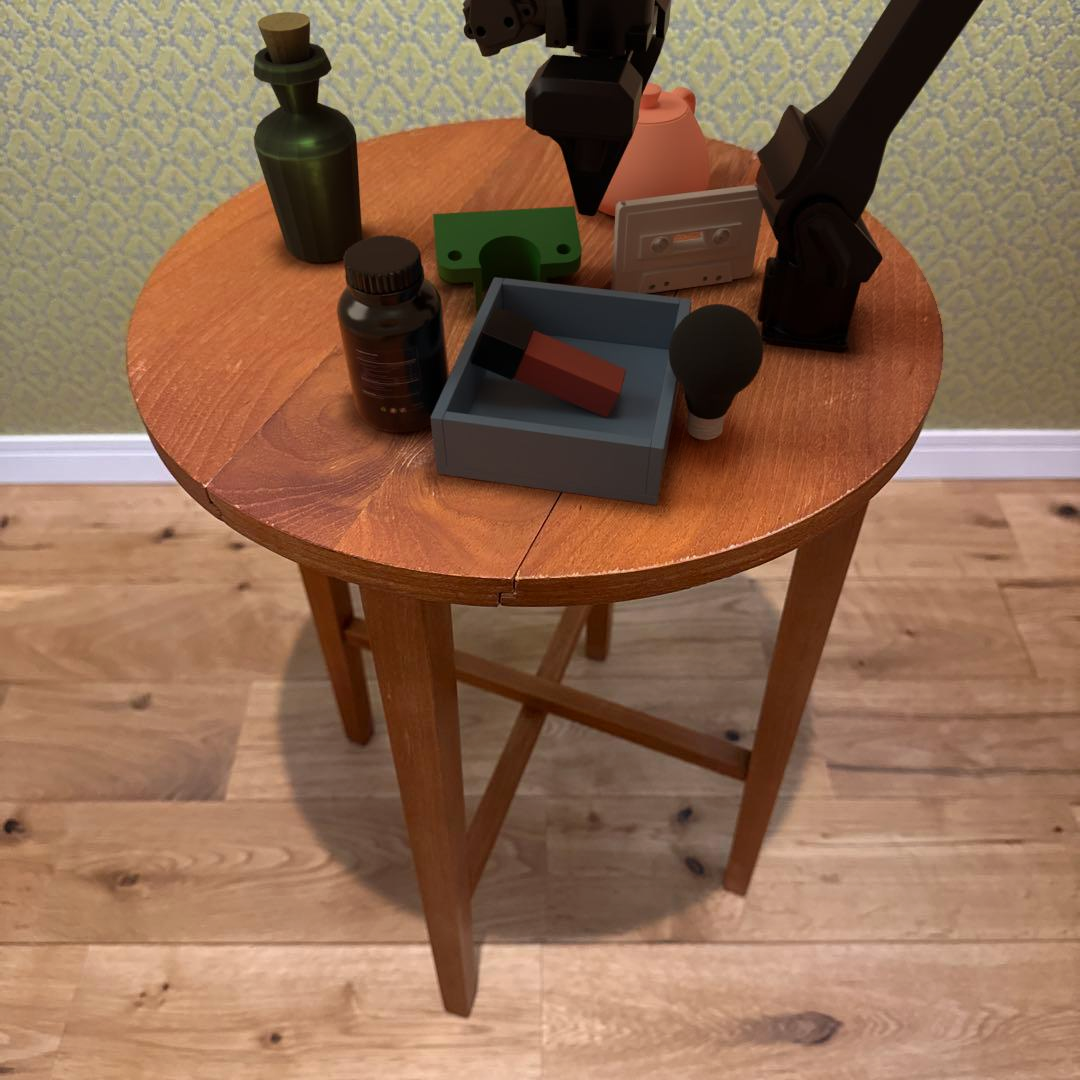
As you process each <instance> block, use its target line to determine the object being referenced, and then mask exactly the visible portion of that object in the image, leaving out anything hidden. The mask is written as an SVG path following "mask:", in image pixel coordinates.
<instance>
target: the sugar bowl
mask: <svg viewBox="0 0 1080 1080" xmlns="http://www.w3.org/2000/svg"><path fill="white" fill-rule="evenodd" d="M696 104H697V99H696V94H695V93H694V91H692V90H691V89H689V88H687V87H676V88H674V89H672V90H671V91H670V92H669V91H666V90H663V88H662V87H661V85H659V84H657V83H653V82H648V83H647V85H646V87H645V90H644V92H643V94H642V97H641V102H640V109H639V118H638V121H637V124H636V127H635V130H634V133H633V136H632V138H631V140H630V142H629V144H628V146H627V148H626V150H625V152H624V154H623V157H622V159H621V161H620V163H619V165H618V167H617V169H616V171H615V174H614V176H613V178H612V180H611V182H610V184H609V186H608V189H607V191H606V193H605V195H604V197H603V199H602V202H601V204H600V206H599V208H598V210H597V211H600V212H602V213H604V214H607V215H608V216H612V217H615V212H616V205H617V203H618V202H620V201H627V200H635V199H643V198H651V197H659V196H667V195H675V194H683V193H691V192H699V191H706V190H707V188H708V185H709V183H710V176H711V163H710V162H711V161H710V154H709V149H708V144H707V141H706V137H705V135H704V133H703V130H702V128H701V126H700V123H699V122H698V120H697V118H696V116H695V113H696V107H697V105H696Z"/></svg>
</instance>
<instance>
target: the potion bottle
mask: <svg viewBox="0 0 1080 1080" xmlns="http://www.w3.org/2000/svg"><path fill="white" fill-rule="evenodd" d="M257 26H258V29H259V31H260V34H261V37H262V39H263V42H264V43H265V47H264V48H261V49H260V50H258V51H257V53H256V54H255V55H254V63H253V76H254V77H255V78H256V79H257V80H259V81H260V82H263V83H268V84H270V87H271V89H272V90H273V93H274V95H275V97H276V100H277V101H278V104H279V107H277V108H276V109H274V110H273V111H272V112H270V113H269V114H267V115H265V116H264V117H263V118H262V119H261V120H260V121H259V123H258V124H257V125H256V129H255V132H254V135H253V145H254V146H253V147H254V149H255V152H256V153H255V154H256V155H257V159H258V162H259V165H260V168H261V172H262V175H263V179H264V181H265V185H266V187H267V191H268V194H269V197H270V200H271V204H272V206H273V210H274V212H275V216H276V219H277V222H278V225H279V228H280V231H281V235H282V238H283V240H284V244H285V247H286V250H287V251H288V252H289V253H290V254H291V255H292V256H293V257H294V258H297V259H298V260H301V261H304V262H307V263H317V264H322V263H330V262H337V261H339V260H342V259H344V255H345V251H347V250H348V248H349V247H351V246H352V244H355V243H356V242H357V241H360V240H363V226H362V211H361V209H362V208H361V192H360V176H359V158H358V141H357V140H358V139H357V132H356V128H355V126H354V125H353V123H352V122H351V120H350V119H349V118H348V116H347V115H345V114H344V113H343V112H341V111H340V110H339V109H336V108H333V107H330V106H328V105H326V104H323V103H321V102H319V91H320V79H322V78H323V77H325V76H327V75H328V74H329V73H330V72H331V71H332V68H333V67H332V63H331V61H330V59H329V57H328V55H327V53H326V51H325V49H324V48H323V47H322V46H320V45H319V44H316V43H312V42H311V18H310V16H308V15H306V14H305V13H301V12H295V11H293V12H292V11H285V12H276V13H271V14H267V15H265V16H263V17H260V19H259V20H258V21H257Z"/></svg>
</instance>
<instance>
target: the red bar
mask: <svg viewBox="0 0 1080 1080" xmlns="http://www.w3.org/2000/svg"><path fill="white" fill-rule="evenodd" d="M534 325H535V323H534V322H531V321H529V320H527V319H524V318H522V317H519V316H517V315H515V314H512V313H510V312H508V311H505V310H503V309H501V308H498V307H496V306H494V307H493V309H492V312H491V314H490V316H489V318H488V321H487V323H486V325H485V327H484V330H483V332H482V335H481V337H480V340H479V343H478V345H477V348H476V351H475V353H474V356H473V359H472V362H471V363H472V364H474V365H477V366H479V367H481V368H484V369H486V370H489V371H491V372H493V373H496V374H498V375H500V376H503V377H505V378H508V379H510V380H513V377H514V379H515V380H518V381H520V382H522V383H525V384H527V385H530V386H532V387H534V388H537V389H539V390H541V391H544V392H546V393H549V394H551V395H553V396H556V397H558V398H561V399H563V400H565V401H568V402H570V403H572V404H575V405H577V406H580V407H582V408H584V409H587V410H589V411H591V412H594V413H596V414H599V415H601V416H603V417H606V418H607V417H608V416H609V414H610V412H611V411H612V409H613V407H614V405H615V403H616V401H617V399H618V398H619V396H620V394H621V390H622V386H623V382H624V378H625V374H626V369H624V368H621V367H619V366H617V365H614V364H612V363H610V362H607V361H605V360H603V359H600V358H598V357H596V356H593V355H591V354H589V353H586V352H584V351H582V350H579V349H577V348H575V347H572V346H570V345H568V344H565V343H563V342H560V341H558V340H556V339H553V338H551V337H549V336H546V335H544V334H542V333H539V332H537V331H535V330H533V328H534ZM532 330H533V331H532Z"/></svg>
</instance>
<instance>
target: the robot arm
mask: <svg viewBox="0 0 1080 1080" xmlns="http://www.w3.org/2000/svg"><path fill="white" fill-rule="evenodd" d="M983 2H984V0H889V2H888V3H887V5H886V6H885V8H884V10H883V11H882V13H881V14H880V16H879V18H878V19H877V21H876V23H875V24H874V26H873V28H872V29H871V30H870V32H869V34H868V36H867V37H866V38H865V40H864V42H863V44H862V45H861V46H860V48H859V50H858V51H857V53H856V54H855V56H854V58H853V59H852V60H851V62H850V64H849V65H848V67H847V68H846V71H845V72H844V73H843V75H842V77H841V79H840V80H839V81H838V83H837V85H836V86H835V88H834V89H833V91H832V92H831V93H830V94H829V95H828V96H827V97H826V98H825V99H824V100H822V101H821V102H820V103H818V104H817V105H815V106H814V107H813V108H811V109H810V110H808V111H807V112H806V113H805V112H803V111H802V110H801V109H799V108H798V107H797V106H795V105H794V104H789V105H788V106H787V107H786V109H785V110H784V112H783V113H782V116H781V118H780V120H779V123H778V125H777V128H776V130H775V132H774V134H773V135H772V137H771V138H770V139H769V141H768V142H767V143H766V144H765V145H764V146H763V147H762V148H760V149H759V150H758V151H757V152H756V156H757V158H758V161H759V163H760V165H759V168H758V170H757V172H756V176H755V177H756V178H755V184H757V191H758V195H759V198H760V201H761V203H762V206H763V212H764V213H765V216H766V218H767V220H768V224H769V226H770V228H771V231H772V234H773V235H774V238H775V241H777V246H776V250H775V256H769V257H768V258H766V261H765V265H764V272H763V278H762V283H761V289H760V293H759V299H758V306H757V307H758V308H757V316H756V320H757V321H758V322H759V323H761V331H760V334H761V337H762V342H763V343H767V344H776V345H785V346H791V347H792V346H794V347H801V348H810V349H816V350H817V349H818V350H827V351H836V352H847V351H848V350H849V347H850V326H851V323H852V319H853V315H854V311H855V307H856V304H857V300H858V296H859V292H860V289H861V285H862V284H865V283H867V282H869V281H870V279H871V278H872V276H873V275H874V273H875V272H876V270H877V269H878V268H879V266H880V265H881V263H882V262H883V259H884V258H883V255H882V253H881V251H880V249H879V247H878V245H877V243H876V242H875V240H874V238H873V236H872V233H870V231H869V229H868V227H867V225H866V223H865V221H864V219H863V217H862V216H863V214H864V212H865V210H866V207H867V206H868V203H869V201H870V200H871V198H872V196H873V194H874V192H875V190H876V187H877V183H878V182H877V181H878V179H879V175H880V170H881V167H882V163H883V160H884V156H885V151H886V148H887V145H888V141H889V139H890V137H891V135H892V133H893V132H894V130H895V129H896V128H897V126H898V124H899V123H900V122H901V120H902V119H903V117H904V116H905V114H906V113H907V111H908V110H909V109H910V107H911V106H912V104H913V103H914V102H915V100H916V98H917V97H918V95H919V94H920V93H921V92H922V90H923V88H924V87H925V85H927V83H928V81H929V80H930V78H931V77H932V75H933V74H934V73H935V71H936V70H937V68H938V67H939V65H941V64H940V63H941V62H942V61H943V60H944V58H945V56H946V55H947V54H948V52H949V51H950V49H951V48H952V46H953V45H954V44H955V42H956V41H957V39H958V38H959V37H960V35H961V34H962V32H963V31H964V29H965V27H967V25H968V24H969V22H970V21H971V19H972V18H973V16H974V15H975V13H976V12H977V10H978V9H979V7H980V6H981V5H982V3H983ZM462 6H463V8H462V9H461V10H462V13H463V16H464V20H465V21H464V22H465V23H464V26H463V34H464V36H465V38H467V39H468V40H475V42H476V44H477V47H478V50H479V51H480V54H481V56H482V57H483V58H490V57H493V56H496V55H499V54H500V52H501V51H502V50H503V49H506V48H510V47H512V46H515V45H519V44H521V43H525V42H528V41H531V40H535V39H537V38H540V37H542V36H544V35H545V38H544V39H545V42H544V44H545V45H544V47H545V48H552V49H561V50H563V49H566V48H567V47H572V52H574V55H565V54H554V53H553V54H552V55H550V57H549V58H548V59H546V61H545V62H544V63H542V65H540V67H538V68H537V69H536V71H535V74H534V75H533V77H532V79H531V81H530V83H529V84H528V87H527V88H526V90H525V92H524V104H525V105H524V111H525V115H524V116H525V117H524V118H525V120H524V121H525V126H526V127H528V128H530V129H531V130H532V131H535V132H537V134H539V135H541V136H543V137H549V138H550V139H551V140H553V141H554V142H555V143H556V144H557V145H558V146H559V149H560V150H561V153H562V157H563V160H564V164H565V168H566V171H567V174H568V180H569V182H570V186H571V190H572V194H573V197H574V202H575V205H576V208H577V213H578V214H579V215H581V216H584V217H586V216H587V217H594V216H596V214H597V213H598V211H599V210H598V208H599V206H600V204H601V202H602V199H603V197H604V195H605V193H606V191H607V189H608V186H609V184H610V182H611V180H612V178H613V176H614V174H615V171H616V169H617V167H618V165H619V163H620V161H621V159H622V157H623V154H624V152H625V150H626V148H627V146H628V144H629V142H630V140H631V138H632V136H633V133H634V130H635V127H636V124H637V121H638V118H639V109H640V102H641V97H642V94H643V92H644V90H645V87H646V85H647V83H649V82H650V81H649V80H650V78H651V76H652V74H653V72H654V70H655V66H656V65H657V63H658V60H659V58H660V56H661V53H662V49H663V46H664V44H665V41H666V35H667V32H668V29H669V27H670V20H671V10H672V9H671V8H672V0H464V1H463V3H462Z"/></svg>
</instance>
